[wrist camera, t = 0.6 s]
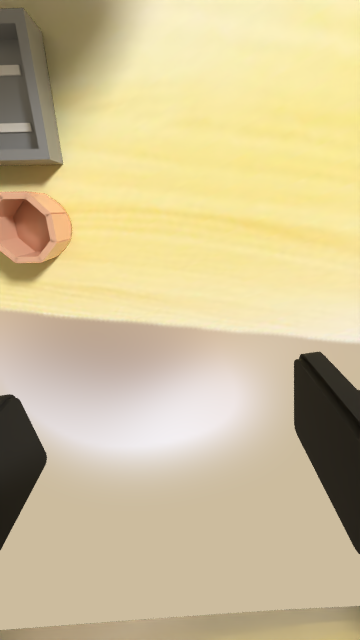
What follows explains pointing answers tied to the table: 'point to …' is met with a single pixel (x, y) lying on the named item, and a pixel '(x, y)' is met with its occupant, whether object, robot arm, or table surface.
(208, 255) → the table surface
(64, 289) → the table surface
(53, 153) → the tray
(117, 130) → the table surface
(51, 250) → the cup
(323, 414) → the robot arm
